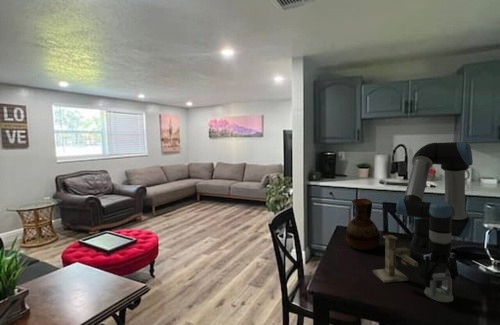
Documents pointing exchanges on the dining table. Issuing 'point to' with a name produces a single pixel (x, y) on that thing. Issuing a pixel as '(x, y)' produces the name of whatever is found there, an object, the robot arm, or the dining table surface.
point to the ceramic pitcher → (362, 227)
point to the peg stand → (391, 272)
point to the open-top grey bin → (445, 282)
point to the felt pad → (441, 296)
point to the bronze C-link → (398, 251)
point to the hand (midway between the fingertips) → (438, 293)
